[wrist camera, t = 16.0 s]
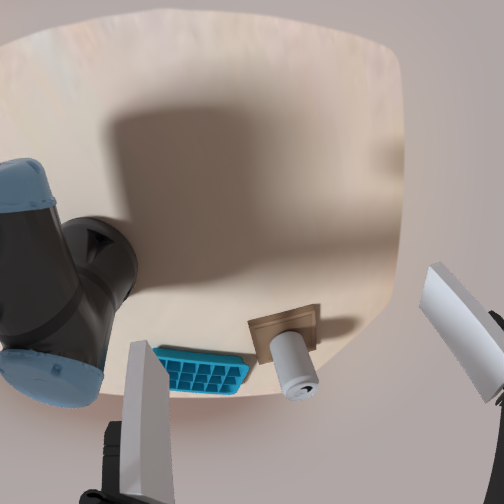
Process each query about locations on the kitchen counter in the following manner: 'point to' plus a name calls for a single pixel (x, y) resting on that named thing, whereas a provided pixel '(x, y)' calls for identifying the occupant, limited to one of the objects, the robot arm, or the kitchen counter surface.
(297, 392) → the beverage can
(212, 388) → the ice cube tray
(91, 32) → the kitchen counter surface
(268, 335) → the walnut block
